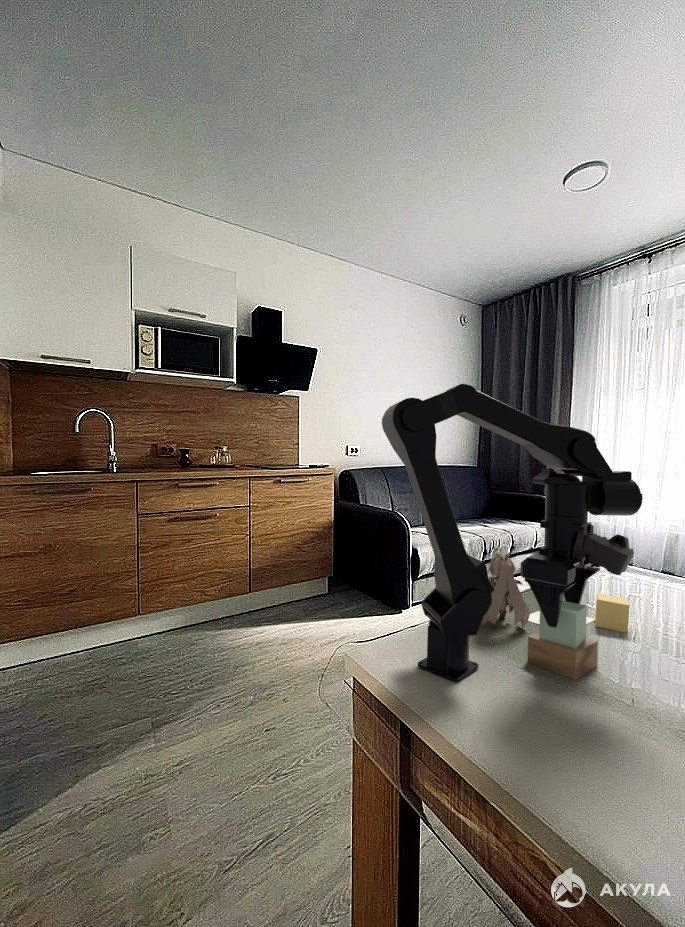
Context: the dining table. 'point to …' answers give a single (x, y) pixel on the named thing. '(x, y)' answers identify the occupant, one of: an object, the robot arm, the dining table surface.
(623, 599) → the brick
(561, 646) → the base block
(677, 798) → the dining table surface
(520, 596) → the toy
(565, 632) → the pale green cube
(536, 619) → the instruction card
